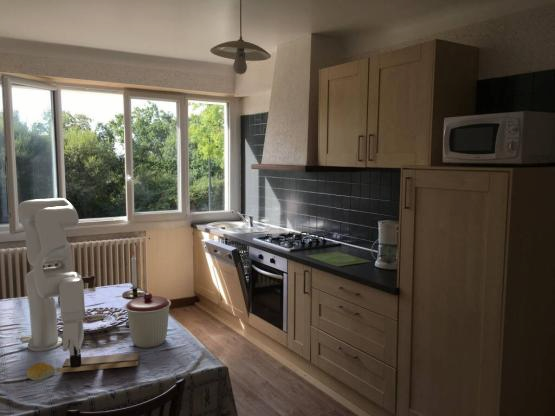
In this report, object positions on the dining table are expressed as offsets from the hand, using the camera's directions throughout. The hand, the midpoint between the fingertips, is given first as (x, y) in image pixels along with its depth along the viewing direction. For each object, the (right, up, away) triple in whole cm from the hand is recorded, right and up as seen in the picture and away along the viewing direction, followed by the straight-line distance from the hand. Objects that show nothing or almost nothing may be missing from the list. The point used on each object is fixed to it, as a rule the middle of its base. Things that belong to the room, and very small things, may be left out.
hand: (76, 366), depth 159 cm
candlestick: (+5, +1, +53) cm, 53 cm away
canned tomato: (-41, +5, +83) cm, 93 cm away
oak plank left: (-1, -3, +4) cm, 5 cm away
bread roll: (-15, -6, +6) cm, 17 cm away
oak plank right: (+12, -3, +7) cm, 14 cm away
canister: (+16, -2, +33) cm, 36 cm away
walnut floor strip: (+4, -4, +14) cm, 15 cm away
